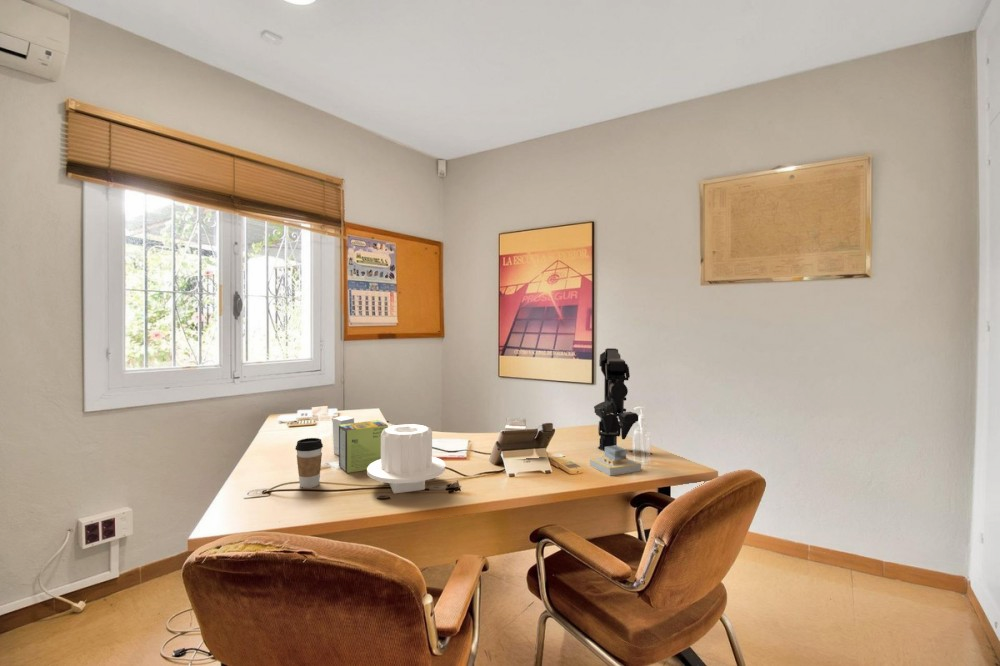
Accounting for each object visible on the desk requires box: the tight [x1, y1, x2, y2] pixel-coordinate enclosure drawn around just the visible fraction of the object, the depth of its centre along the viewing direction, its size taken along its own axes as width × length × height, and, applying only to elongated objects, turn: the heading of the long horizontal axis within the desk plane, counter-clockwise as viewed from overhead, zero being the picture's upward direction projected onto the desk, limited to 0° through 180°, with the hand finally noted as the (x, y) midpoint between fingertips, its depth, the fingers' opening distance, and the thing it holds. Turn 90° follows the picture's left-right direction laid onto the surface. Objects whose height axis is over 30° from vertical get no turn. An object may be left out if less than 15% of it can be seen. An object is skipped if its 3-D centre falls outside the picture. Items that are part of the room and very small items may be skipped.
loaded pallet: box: [601, 445, 629, 465], centre depth 173 cm, size 7×6×5 cm
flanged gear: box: [366, 423, 446, 494], centre depth 152 cm, size 25×25×19 cm
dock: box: [589, 457, 642, 477], centre depth 173 cm, size 14×12×3 cm
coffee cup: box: [294, 437, 324, 489], centre depth 153 cm, size 8×8×15 cm
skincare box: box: [331, 415, 355, 456], centre depth 187 cm, size 8×6×15 cm
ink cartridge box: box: [504, 417, 527, 432], centre depth 188 cm, size 9×5×15 cm, turn 84°
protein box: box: [338, 419, 389, 474], centre depth 173 cm, size 10×15×16 cm
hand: (615, 436), depth 173 cm, fingers open, 9 cm apart
